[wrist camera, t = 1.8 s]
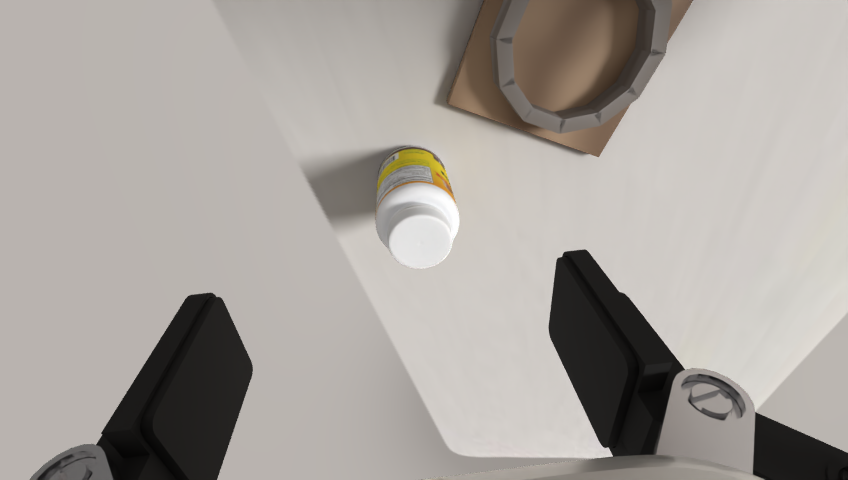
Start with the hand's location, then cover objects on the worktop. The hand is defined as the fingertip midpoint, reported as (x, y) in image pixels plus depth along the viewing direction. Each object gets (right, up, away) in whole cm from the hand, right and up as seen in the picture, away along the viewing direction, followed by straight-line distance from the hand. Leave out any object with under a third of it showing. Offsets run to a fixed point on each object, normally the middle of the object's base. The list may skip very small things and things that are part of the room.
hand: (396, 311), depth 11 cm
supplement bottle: (0, +7, +22) cm, 23 cm away
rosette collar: (+11, +16, +17) cm, 26 cm away
